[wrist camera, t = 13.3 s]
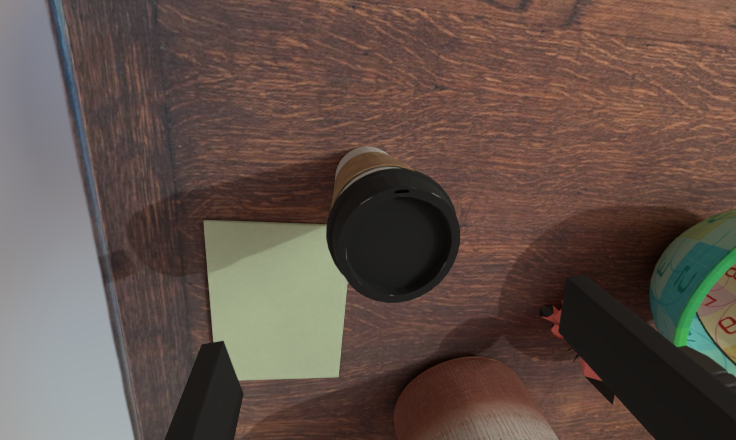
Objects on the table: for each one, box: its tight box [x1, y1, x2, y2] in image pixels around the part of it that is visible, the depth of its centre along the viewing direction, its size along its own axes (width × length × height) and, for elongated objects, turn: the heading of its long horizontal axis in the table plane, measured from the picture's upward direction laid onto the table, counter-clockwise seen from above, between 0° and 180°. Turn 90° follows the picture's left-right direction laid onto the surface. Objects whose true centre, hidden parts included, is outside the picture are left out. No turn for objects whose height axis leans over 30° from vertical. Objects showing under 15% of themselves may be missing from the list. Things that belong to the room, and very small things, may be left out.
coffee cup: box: [326, 147, 460, 303], centre depth 27 cm, size 8×8×15 cm
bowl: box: [650, 209, 736, 377], centre depth 39 cm, size 22×22×10 cm
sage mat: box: [203, 220, 347, 380], centre depth 38 cm, size 20×14×1 cm
